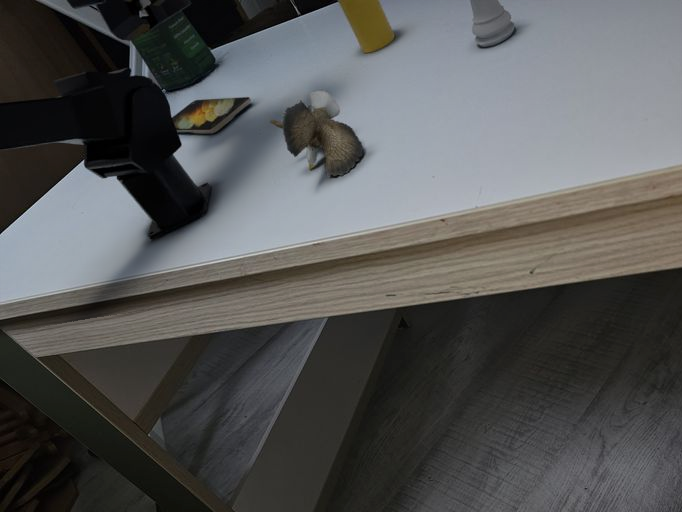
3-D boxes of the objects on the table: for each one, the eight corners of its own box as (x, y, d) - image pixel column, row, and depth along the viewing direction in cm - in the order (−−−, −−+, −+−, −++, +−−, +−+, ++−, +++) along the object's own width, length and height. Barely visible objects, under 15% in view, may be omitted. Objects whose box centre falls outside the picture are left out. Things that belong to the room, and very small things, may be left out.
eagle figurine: (269, 163, 69) (281, 176, 61) (268, 86, 66) (280, 90, 59) (346, 166, 72) (366, 179, 64) (347, 92, 69) (368, 96, 61)
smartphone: (194, 99, 97) (251, 96, 87) (197, 104, 98) (254, 101, 88) (156, 129, 94) (210, 129, 84) (159, 133, 95) (214, 134, 85)
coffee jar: (226, 59, 109) (148, -66, 97) (197, 86, 104) (111, -42, 92) (186, 70, 114) (107, -47, 102) (157, 96, 109) (70, -24, 97)
